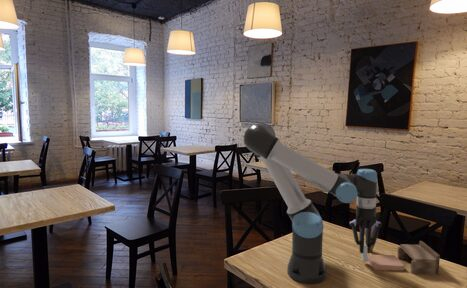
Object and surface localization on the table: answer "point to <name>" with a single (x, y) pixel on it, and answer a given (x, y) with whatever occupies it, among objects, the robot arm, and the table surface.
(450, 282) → the table surface
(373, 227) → the ice cream cone
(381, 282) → the table surface
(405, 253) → the brown channel bracket
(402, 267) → the pinkish brown block
